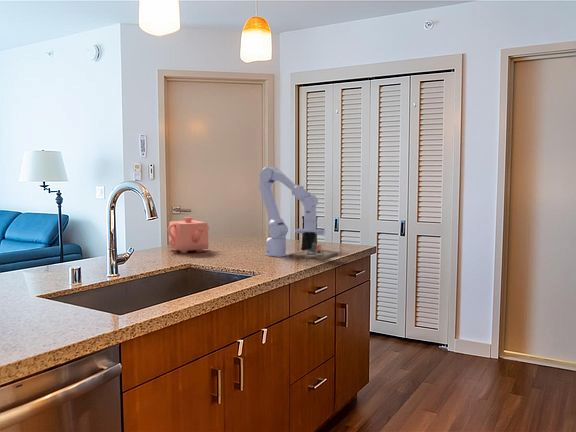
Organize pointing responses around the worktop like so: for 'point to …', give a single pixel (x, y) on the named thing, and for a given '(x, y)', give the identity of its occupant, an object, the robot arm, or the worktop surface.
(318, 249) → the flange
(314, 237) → the robot arm
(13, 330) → the worktop surface
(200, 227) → the teapot
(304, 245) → the container
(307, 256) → the jig base
